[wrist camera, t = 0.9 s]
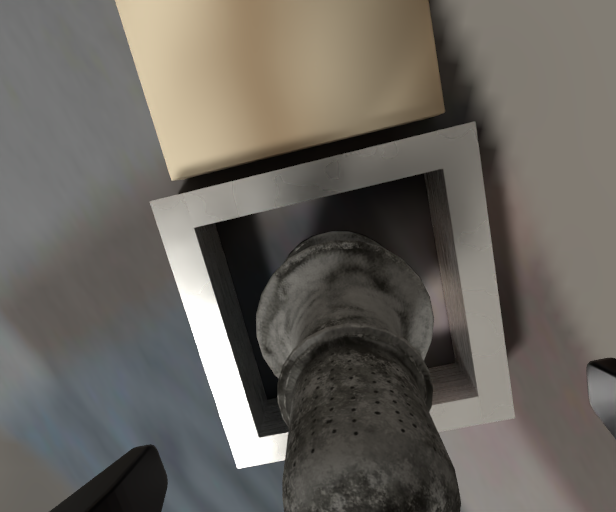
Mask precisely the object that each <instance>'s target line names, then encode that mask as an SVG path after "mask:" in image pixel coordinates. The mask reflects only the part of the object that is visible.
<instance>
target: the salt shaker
mask: <svg viewBox="0 0 616 512" xmlns="http://www.w3.org/2000/svg"><path fill="white" fill-rule="evenodd" d="M433 323H434V316H433V311H432V306H431V301H430V296H429V294H428V292H427V291H426V289H425V287H424V285H423V283H422V281H421V279H420V277H419V276H418V275H417V274H416V273H415V272H414V271H413V270H412V268H411V267H410V266H409V265H408V264H407V263H406V262H405V261H404V260H403V259H402V258H400V257H398V256H397V255H395V254H393V253H391V252H390V251H388V250H386V249H385V248H383V247H382V246H381V245H380V244H378V243H376V242H375V241H373V240H371V239H370V238H368V237H366V236H364V235H360V234H357V233H353V232H350V231H331V232H327V233H323V234H319V235H315V236H313V237H311V238H310V239H308V240H306V241H304V242H302V243H301V244H300V245H299V246H298V247H297V248H296V249H294V250H293V251H292V252H291V253H290V254H289V256H288V257H287V259H286V261H285V262H284V264H283V265H282V266H281V267H280V268H279V269H278V270H277V271H275V272H274V273H273V275H272V277H271V278H270V280H269V282H268V284H267V285H266V287H265V289H264V290H263V292H262V294H261V298H260V302H259V306H258V310H257V313H256V332H257V339H258V342H259V346H260V349H261V352H262V355H263V358H264V359H265V361H266V362H267V364H268V365H269V367H270V368H271V370H272V372H273V373H274V375H275V376H277V377H278V378H279V380H278V383H277V401H278V405H279V408H280V412H281V415H282V418H283V420H284V421H285V423H286V424H287V426H288V427H289V430H288V439H287V447H286V456H285V464H284V473H283V505H284V512H460V507H461V500H460V494H459V488H458V483H457V478H456V474H455V469H454V467H453V464H452V462H451V460H450V458H449V455H448V453H447V451H446V449H445V446H444V444H443V442H442V440H441V438H440V435H439V433H438V431H437V429H436V426H435V424H434V422H433V420H432V417H431V415H430V413H429V412H430V409H431V407H432V397H433V385H432V381H431V376H430V371H429V369H428V367H427V366H426V364H425V362H424V359H425V357H426V354H427V352H428V349H429V346H430V344H431V341H432V334H433Z"/></svg>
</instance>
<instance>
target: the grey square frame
mask: <svg viewBox="0 0 616 512" xmlns="http://www.w3.org/2000/svg"><path fill="white" fill-rule="evenodd" d="M422 173H424V178H425V184H426V190H427V196H428V202H429V208H430V214H431V220H432V226H433V232H434V238H435V244H436V250H437V256H438V262H439V268H440V274H441V280H442V286H443V292H444V298H445V304H446V310H447V316H448V322H449V328H450V334H451V340H452V346H453V352H454V358H455V363H451V364H446V365H441V366H436V367H431V368H428V369H429V371H430V376H431V381H432V385H433V397H432V407H431V409H430V412H429V413H430V415H431V417H432V420H433V422H434V424H435V426H436V429H437V431H438V432H442V431H447V430H453V429H458V428H464V427H469V426H475V425H480V424H486V423H491V422H497V421H502V420H508V419H513V418H515V414H514V407H513V399H512V392H511V384H510V377H509V369H508V362H507V354H506V347H505V339H504V332H503V324H502V317H501V309H500V302H499V294H498V287H497V279H496V272H495V264H494V257H493V249H492V242H491V234H490V227H489V219H488V212H487V204H486V197H485V189H484V182H483V174H482V167H481V159H480V152H479V144H478V137H477V129H476V122H475V121H474V122H470V123H466V124H462V125H458V126H454V127H450V128H446V129H442V130H438V131H434V132H430V133H426V134H422V135H418V136H413V137H409V138H405V139H401V140H397V141H393V142H389V143H385V144H381V145H377V146H373V147H369V148H365V149H361V150H357V151H353V152H349V153H344V154H340V155H336V156H332V157H328V158H324V159H320V160H316V161H312V162H308V163H304V164H300V165H296V166H292V167H288V168H284V169H280V170H275V171H271V172H267V173H263V174H259V175H255V176H251V177H247V178H243V179H239V180H235V181H231V182H227V183H223V184H219V185H215V186H211V187H206V188H202V189H198V190H194V191H190V192H186V193H182V194H178V195H174V196H170V197H166V198H162V199H158V200H154V201H150V204H151V207H152V210H153V213H154V216H155V219H156V222H157V226H158V229H159V232H160V235H161V238H162V241H163V244H164V247H165V250H166V253H167V256H168V259H169V262H170V265H171V268H172V271H173V274H174V277H175V280H176V283H177V286H178V289H179V292H180V295H181V298H182V301H183V304H184V307H185V310H186V313H187V316H188V319H189V323H190V326H191V329H192V332H193V335H194V338H195V341H196V344H197V347H198V350H199V353H200V356H201V359H202V362H203V365H204V368H205V371H206V374H207V377H208V380H209V383H210V386H211V389H212V392H213V395H214V398H215V401H216V404H217V407H218V410H219V413H220V417H221V420H222V423H223V426H224V429H225V432H226V435H227V438H228V441H229V444H230V447H231V450H232V453H233V456H234V459H235V462H236V465H237V468H244V467H249V466H255V465H260V464H266V463H271V462H277V461H282V460H285V456H286V447H287V439H288V430H289V427H288V426H287V424H286V423H285V421H284V420H283V418H282V415H281V412H280V408H279V405H278V401H277V398H273V399H268V400H267V397H266V394H265V390H264V387H263V383H262V380H261V377H260V373H259V370H258V366H257V363H256V360H255V356H254V353H253V350H252V346H251V343H250V339H249V336H248V333H247V329H246V326H245V322H244V319H243V316H242V312H241V309H240V306H239V302H238V299H237V295H236V292H235V289H234V285H233V282H232V278H231V275H230V272H229V268H228V265H227V261H226V258H225V255H224V251H223V248H222V245H221V241H220V238H219V234H218V231H217V228H216V224H215V223H216V222H220V221H225V220H229V219H233V218H237V217H241V216H246V215H250V214H254V213H258V212H262V211H267V210H271V209H275V208H279V207H283V206H288V205H292V204H296V203H300V202H304V201H309V200H313V199H317V198H321V197H325V196H330V195H334V194H338V193H342V192H346V191H351V190H355V189H359V188H363V187H367V186H372V185H376V184H380V183H384V182H388V181H393V180H397V179H401V178H405V177H409V176H414V175H418V174H422Z"/></svg>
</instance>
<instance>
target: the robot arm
mask: <svg viewBox="0 0 616 512" xmlns="http://www.w3.org/2000/svg"><path fill="white" fill-rule="evenodd" d="M587 383H588V395H589V401H590V404H591V406H592V408H593V410H594V411H595V413H596V414H597V416H598V417H599V418H600V419H601V421H602V422H603V423H604V425H605V426H606V427H607V429H608V430H609V431H610V432H611V434H612V435H613V436H614V438H615V439H616V359H615V358H604V359H599V360H594V361H590V362H589V363H588V364H587ZM167 484H168V479H167V474H166V471H165V469H164V466H163V463H162V461H161V458H160V456H159V453H158V450H157V448H156V447H155V446H154V445H151V444H150V445H144V446H139V447H135V448H133V449H131V450H130V451H129V452H127V453H126V454H125V455H123V456H122V457H121V458H119V459H118V460H117V461H115V462H114V463H113V464H111V465H110V466H109V467H108V468H106V469H105V470H104V471H102V472H101V473H100V474H98V475H97V476H96V477H94V478H93V479H92V480H90V481H89V482H88V483H86V484H85V485H84V486H82V487H81V488H80V489H79V490H77V491H76V492H75V493H73V494H72V495H71V496H69V497H68V498H67V499H65V500H64V501H63V502H61V503H60V504H59V505H58V506H56V507H55V508H53V509H52V510H51V511H50V512H161V510H162V506H163V502H164V498H165V494H166V490H167Z"/></svg>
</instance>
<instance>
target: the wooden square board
mask: <svg viewBox="0 0 616 512" xmlns="http://www.w3.org/2000/svg"><path fill="white" fill-rule="evenodd" d="M115 1H116V5H117V8H118V11H119V14H120V17H121V21H122V24H123V27H124V30H125V33H126V37H127V40H128V43H129V46H130V49H131V53H132V56H133V59H134V62H135V65H136V69H137V72H138V75H139V78H140V81H141V85H142V88H143V91H144V94H145V97H146V100H147V104H148V107H149V110H150V113H151V116H152V120H153V123H154V126H155V129H156V132H157V136H158V139H159V142H160V145H161V148H162V152H163V155H164V158H165V161H166V164H167V168H168V171H169V174H170V177H171V180H172V181H173V180H183V179H187V178H191V177H195V176H199V175H203V174H207V173H211V172H215V171H219V170H223V169H227V168H231V167H235V166H239V165H243V164H247V163H251V162H255V161H259V160H263V159H267V158H271V157H275V156H279V155H283V154H287V153H291V152H295V151H299V150H303V149H307V148H311V147H315V146H319V145H323V144H327V143H331V142H335V141H339V140H343V139H347V138H351V137H355V136H359V135H363V134H367V133H371V132H375V131H379V130H383V129H387V128H391V127H395V126H399V125H403V124H407V123H411V122H415V121H419V120H423V119H428V118H432V117H435V116H438V115H440V114H442V113H445V108H444V101H443V95H442V88H441V81H440V75H439V68H438V61H437V55H436V48H435V41H434V35H433V28H432V21H431V15H430V8H429V1H428V0H115Z"/></svg>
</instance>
